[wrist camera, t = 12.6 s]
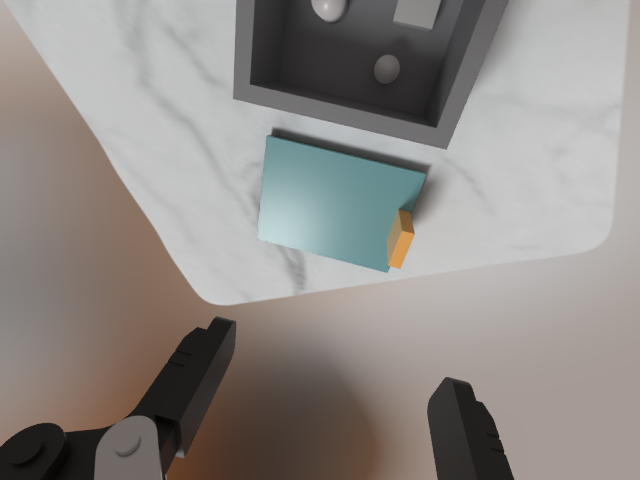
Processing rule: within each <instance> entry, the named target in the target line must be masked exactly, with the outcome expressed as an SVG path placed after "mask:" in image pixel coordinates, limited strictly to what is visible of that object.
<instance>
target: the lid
mask: <svg viewBox="0 0 640 480" xmlns="http://www.w3.org/2000/svg"><path fill="white" fill-rule="evenodd" d="M425 177H426V173H424V172H420V171H416V170H412V169H408V168H404V167H400V166H396V165H391V164H387V163H383V162H379V161H375V160H371V159H367V158H362V157H358V156H354V155H350V154H346V153H342V152H338V151H333V150H329V149H325V148H321V147H317V146H313V145H309V144H304V143H300V142H296V141H292V140H288V139H284V138H280V137H275V136H271V135H268V136H267V139H266V149H265V160H264V171H263V181H262V192H261V203H260V213H259V224H258V235H257V239H260V240H264V241H268V242H271V243H275V244H279V245H283V246H287V247H291V248H294V249H298V250H302V251H306V252H310V253H314V254H317V255H321V256H325V257H329V258H333V259H337V260H340V261H344V262H348V263H352V264H356V265H360V266H363V267H367V268H371V269H375V270H379V271H383V272H386V273H388V270H389V268H390V266H392V267H396V268H401V266H402V263H403V261H404V258H405V256H406V254H407V251H408V249H409V246H410V244H411V242H412V239H413V237H414V235H415V233H414V229H413V224H412V220H411V216H410V215H411V212H412V210H413V207H414V205H415V202H416V200H417V197H418V195H419V192H420V190H421V187H422V184H423V182H424V179H425Z"/></svg>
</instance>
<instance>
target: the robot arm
mask: <svg viewBox="0 0 640 480" xmlns="http://www.w3.org/2000/svg"><path fill="white" fill-rule="evenodd" d="M235 337H236V321H233V320H229V319H225V318H221V317H215V318H214V319H213V321H212V322H211V324H210V326H209V327H208V329H207V330H206V329H202V328H198V327H197V328H196V329H195V330H193V331H192V332H190V333H189V334H188V335H187V336H185V337H184V338H183V340H182V341H181V343H180V344H179V346H178V347H177V348H176V350H175V352H174V353H173V354H172V356H171V357H170V359H169V360H168V363H167V364H166V365H165V366H164V368H163V369H162V370H161V372H160V373H159V375H158V376H157V378H156V379H155V380H154V382H153V383H152V385H151V386H150V388H149V389H148V391H147V392H146V394H145V395H144V397H143V398H142V399H141V401H140V402H139V404H138V405H137V407H136V408H135V409H134V410H133V411H132V412H131V413H130V414H129V415H128V416H127V417H125V418H124V419H122V420H121V421H119V422H117V423H116V424H113V425H111V426H109V427H105V428H101V429H94V430H84V431H74V432H63V430H62V429H61V428H60V427H59V426H58V425H56V424H53V423H41V424H36V425H33V426H30V427H28V428H26V429H24V430H22V431H20V432H18V433H17V434H15V435H14V436H12V437H11V438H10V439H9V440H7V441H6V442H5V443H4V444H3V445H2V446H1V447H0V480H167V478H166V473H167V471H168V469H169V467H170V465H171V463H172V461H173V459H174V457H175V456H178V457H182V458H185V456H186V454H187V452H188V450H189V448H190V446H191V444H192V441H193V439H194V437H195V435H196V433H197V431H198V429H199V427H200V425H201V423H202V420H203V418H204V416H205V414H206V412H207V410H208V408H209V406H210V404H211V402H212V399H213V397H214V395H215V393H216V391H217V389H218V386H219V385H220V383H221V381H222V378H223V376H224V374H225V372H226V370H227V368H228V366H229V363H230V361H231V359H232V356H233V353H234V349H235ZM427 410H428V411H427V413H428V421H429V427H430V434H431V439H432V446H433V452H434V458H435V465H436V471H437V477H438V480H514V478H513V475H512V472H511V469H510V466H509V463H508V460H507V457H506V455H505V454H504V449H503V446H502V443H501V440H499V434H498V431H497V428H496V425H495V422H494V420H493V418H492V416H491V415H490V413H489V412H488V410H487V409H486V407H485V406H484V404H483V403H482V402H479V401H476V398H475V395H474V392H473V389H472V387H471V385H470V384H469V383H467V382H465V381H461V380H457V379H453V378H449V377H446V378H445V379H444V380H443V381H442V383H441V384H440V385H439V387H438V388H437V390H436V391H435V392H434V393H433V395H432V396H431V398H430V400H429V403H428V409H427Z"/></svg>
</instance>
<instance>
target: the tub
mask: <svg viewBox="0 0 640 480" xmlns="http://www.w3.org/2000/svg"><path fill="white" fill-rule="evenodd" d="M507 3H508V0H237V3H236V33H235V62H234V91H233V99H236V100H240V101H245V102H249V103H253V104H257V105H261V106H266V107H270V108H274V109H278V110H282V111H287V112H291V113H295V114H299V115H303V116H308V117H312V118H316V119H320V120H324V121H329V122H333V123H337V124H341V125H345V126H350V127H354V128H358V129H362V130H367V131H371V132H375V133H379V134H383V135H388V136H392V137H396V138H400V139H404V140H409V141H413V142H417V143H421V144H425V145H430V146H434V147H438V148H442V149H446V150H447V147H448V145H449V143H450V140H451V138H452V135H453V133H454V130H455V128H456V126H457V123H458V121H459V118H460V116H461V114H462V111H463V109H464V106H465V104H466V102H467V99H468V97H469V94H470V92H471V89H472V87H473V85H474V82H475V80H476V77H477V75H478V73H479V70H480V68H481V65H482V63H483V61H484V58H485V56H486V53H487V51H488V48H489V46H490V44H491V41H492V39H493V36H494V34H495V32H496V29H497V27H498V24H499V22H500V20H501V17H502V15H503V12H504V10H505V8H506V5H507Z"/></svg>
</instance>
